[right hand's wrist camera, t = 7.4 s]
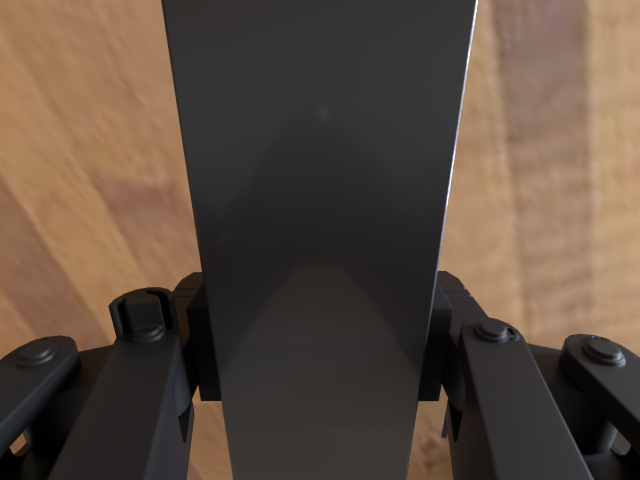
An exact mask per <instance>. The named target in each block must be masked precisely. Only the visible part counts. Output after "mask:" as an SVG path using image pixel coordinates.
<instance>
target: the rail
mask: <svg viewBox="0 0 640 480" xmlns="http://www.w3.org/2000/svg"><path fill="white" fill-rule="evenodd" d="M161 2H162V9H163V16H164V22H165V29H166V36H167V42H168V49H169V56H170V62H171V69H172V76H173V82H174V89H175V96H176V102H177V109H178V115H179V122H180V129H181V135H182V142H183V149H184V155H185V162H186V169H187V175H188V182H189V189H190V195H191V202H192V208H193V215H194V222H195V228H196V235H197V242H198V248H199V255H200V262H201V268H202V275H203V282H204V288H205V295H206V301H207V308H208V315H209V321H210V328H211V335H212V341H213V348H214V355H215V361H216V368H217V375H218V381H219V388H220V395H221V401H222V408H223V414H224V421H225V428H226V434H227V441H228V448H229V454H230V461H231V468H232V474H233V480H406V479H407V473H408V466H409V459H410V453H411V446H412V439H413V432H414V426H415V419H416V412H417V406H418V399H419V392H420V386H421V379H422V372H423V366H424V359H425V352H426V345H427V339H428V332H429V325H430V319H431V312H432V305H433V299H434V292H435V285H436V278H437V272H438V265H439V258H440V252H441V245H442V238H443V232H444V225H445V218H446V212H447V205H448V198H449V191H450V185H451V178H452V171H453V165H454V158H455V151H456V145H457V138H458V131H459V125H460V118H461V111H462V104H463V98H464V91H465V84H466V78H467V71H468V64H469V58H470V51H471V44H472V38H473V31H474V24H475V17H476V11H477V4H478V0H161Z"/></svg>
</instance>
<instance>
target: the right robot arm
mask: <svg viewBox="0 0 640 480" xmlns="http://www.w3.org/2000/svg"><path fill="white" fill-rule="evenodd" d="M109 310H110V314H111V318H112V322H113V325H114V329H115V333H116V337H117V338H116V340H115V342H114V344H113V345H110V346H106V347H101V348H96V349H91V350H86V351H81V352H78V349H77V345H76V342H75V341H74V340H73V339H72V338H70V337H66V336H51V337H44V338H41V339H36V340H33V341H31V342H29V343H27V344H25V345H23V346H20V347H18V348H17V349H15V350H14V351H12V352H11V353H9V354H8V355H6V356H5V357H4V358H2V359H1V360H0V480H186V479H187V471H188V463H189V455H190V447H191V438H192V430H193V422H194V408H193V402H192V398H193V395H194V393H195V391H196V388H197V386H199V392H200V398H201V401H221V395H220V388H219V381H218V375H217V368H216V361H215V355H214V348H213V341H212V335H211V328H210V321H209V315H208V308H207V301H206V295H205V288H204V282H203V275H202V272H193V273H192V274H190V275H189V276H187V277H185V278H184V279H182V280H181V281H180V282H179V284H178V285H177V286H176V288H175V290H173V291H172V292H171V291H170V290H168V289H165V288H160V287H148V288H143V289H137V290H134V291H131V292H128V293H125V294H123V295H121V296H120V297H118V298H116V299H114V300H113V302H112V303H111V304H110V305H109ZM441 384H442V385H443V387H444V390H445V392H446V394H447V397H448V402H447V408H446V414H445V419H444V425H443V431H442V437H443V438H446V437H447V432H448V438H449V446H450V454H451V462H452V470H453V479H454V480H640V358H639V357H638V356H636V355H635V354H634V353H632V352H631V351H629V350H628V349H626V348H625V347H623V346H622V345H619V344H617V343H615V342H612V341H611V340H609V339H606V338H603V337H599V336H595V335H586V334H576V335H570V336H569V337H568V338H566V339H565V341H564V344H563V348H562V350H557V349H552V348H547V347H542V346H537V345H532V344H528V343H526V341H525V339H524V337H523V336H522V335H521V333H520V332H519V331H518V330H517V329H515V328H514V327H512V326H511V325H509V324H508V323H505V322H503V321H500V320H498V319H494V318H489V317H488V316H487V315H486V313H485V312H484V311H483V310H482V308H481V307H480V306H479V304H478V303H477V302H476V301H475V299H474V298H473V297H471V294H470V293H469V292H468V290H467V289H465V287H464V285H463V284H462V283H461V281H460V280H459V279H458V278H457V277H455V276H453V275H452V274H450V273H448V272H447V271H438V272H437V278H436V285H435V292H434V299H433V305H432V312H431V319H430V325H429V332H428V339H427V345H426V352H425V359H424V366H423V372H422V379H421V386H420V392H419V399H418V401H439V397H440V390H441ZM22 433H23V434H24V437H25V439H26V441H27V443H26V444H25V445H24V446H23V447H22V448H21V449H20V450H19V451H18V452H17V453H15V454H13V453H12V452H11V449H10V446H11V445H12V444H13V442H14V441H15V440H16V439H17V438H18V437H19V436H20V435H21V434H22Z"/></svg>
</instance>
